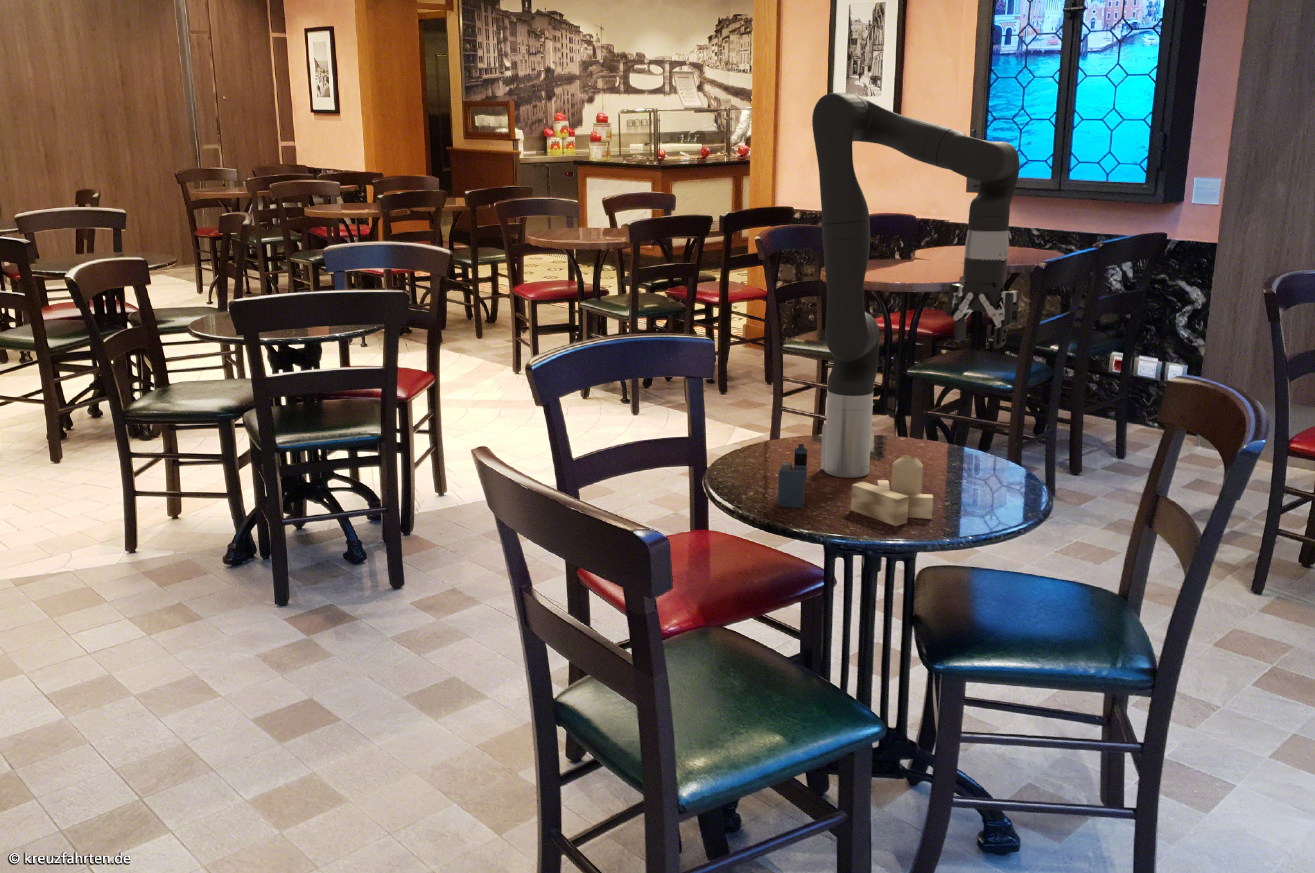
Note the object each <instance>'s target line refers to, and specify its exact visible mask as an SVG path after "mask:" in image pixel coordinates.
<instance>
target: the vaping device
mask: <svg viewBox="0 0 1315 873" xmlns="http://www.w3.org/2000/svg"><path fill="white" fill-rule="evenodd" d="M797 445H798V446H797V447H796V448H794V456H793V458H794V463H792V462H787V461H786V462H781V466H780V468H779V471H778V488H777V503H778V506H780V507H783V508H797V509H798V508H799V509H800V508H801V509H802V508H804V507H805V503H804V500H805V499H804V498H805V482H806V481H807V478H808V475H807V473H808V471H807V470H808V448H805V444H804V443H799V444H797Z"/></svg>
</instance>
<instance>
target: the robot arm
mask: <svg viewBox="0 0 1315 873" xmlns="http://www.w3.org/2000/svg"><path fill="white" fill-rule="evenodd" d="M811 118H812V121H811V124H812V125H811V127H812V132H813V140H814V145H815V146H814V147H815V154H816V158H817V159H816V160H817V165H818V176H819V191H820V194H819V195H820V206H821V207H820V208H821V231H822V232H821V233H822V234H821V235H822V246H823V262H824V272H825V273H824V274H825V283H826V284H825V285H826V313H825V314H826V315H825V328H824V329H825V330H824V331H825V334H824V335H825V336H824V338H825V344H826V347H827V348H828V351H829V352H830V353H831V355H832V356H833V363H832V367H831V371H830V373H829V375H828V377H827V392H826V393H827V396H826V417H825V418H826V419H825V420H826V421H825V422H826V423H824V424H823V425H822V427H821V428H822V430H821V449H820V450H821V454H820V469H821V470H823V472H825V473H826V474H827V475H830V476H833V477H838V478H845V479H846V478H848V479H849V478H850V479H851V478H861V477H864V476H867V475H869V473H870V460H871V458H870V457H871V447H872V446H871V444H872V442H871V441H872V424H873V403H874V386H875V381H876V378H877V374H878V364H879V354H880V353H879V352H880V340H881V338H880V337H881V336H880V327H879V324H878V322H877V320H876V319H875V318H874V317H873V316H872V315H871V314H869V313H868V312H867V311H866V309H865V300H864V285H865V279H866V274H867V269H868V263H869V258H870V251H871V249H870V248H871V227H870V226H871V224H870V223H871V221H870V213H869V212H870V211H869V207H868V204H867V201H866V198H865V194H864V192H863V189H862V188H861V186H860V184H859V181H858V178H857V175H856V172H855V167H854V159H853V157H854V156H853V142H862V143H870V144H878V145H882V146H885V147H888V148H890V149H893V150H896V151H897V152H899V153H902V154H903V155H905V156H907V157H909V158H911V159H913V160H916V161H919V162H921V163H924V164H928V165H930V166H934V167H938V168H940V169H944V170H949V171H952V172H954V173H956V174H958V175H960V176H963V177H964V178H967V179H970V180H973V181H977V182H979V186H978V191H977V195H976V196H975V197H974V198H973V199H972V200H971V202H970V203H969V204H970V205H969V209H968V210H969V211H968V212H969V213H968V223H967V225H968V226H967V229H968V230H967V234H966V239H965V244H964V246H965V247H964V260H963V274H962V280H963V281H964V284H962V283H954V284H953V283H952V284H949V287H948V294H947V301H946V309H945V314H946V316H947V317H951V318H952V319H953V321H954V331H953V337H954V338H955V339H954V340H955V341H958V342H962V341H965V340H966V338H967V326H968V320H967V318H968V317H969V316H970V314H971V313H972V312H977V311H979V312H981V313H987V315H988V316H989V318H991V319H992V321H993V323H994V325H995V326H996V327H994V330H993V331H994V332H993V344H992V346H993V348H995V349H999V348H1003V347H1004V345H1006V343H1007V334H1008V327H1010V326H1013V325H1017V324H1018V323H1019V307H1020V305H1019V304H1020V292H1019V291H1018V290H1011V291H1005V289H1004V286H1005V282H1006V280H1007V271H1008V270H1007V268H1008V255H1009V245H1010V243H1009V242H1010V241H1009V239H1010V238H1009V227H1010V216H1011V214H1010V213H1011V211H1010V210H1011V203H1012V201H1013V198H1014V194H1015V190H1016V186H1017V182H1018V177H1019V172H1020V157H1019V156H1020V155H1019V153H1018V150H1017V148H1015V146H1014V145H1013V144H1011V143H1009V142H1006V141H989V140H983V139H979V138H976V137H972V136H968V135H967V134H966V133H964V132H962V131H960V130H958V129H954V128H950V127H949V126H948V127H947V126H943V125H940V124H937V123H933V122H928V121H925V120H920V119H916V118H913V117H909V116H905V115H903V114H899V113H896V112H894V111H891V110H889V109H886V108H884V107H882V106H880V105H879V104H876V103H874V102H872V101H870V100H868V99H867V98H865V97H863V96H860V95H859V94H856V93H851V92H831V93H826V94H825V95H823V96H821V97H820V98H819V99H818V101H817V102H816V104H815V106H814V107H813V111H812V117H811ZM962 296H963V298H964V300H963V301H962ZM961 301H962V302H961ZM1002 302H1004V305H1003V303H1002Z"/></svg>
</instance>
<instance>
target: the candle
mask: <svg viewBox="0 0 1315 873" xmlns="http://www.w3.org/2000/svg"><path fill="white" fill-rule="evenodd" d="M891 470H892V472H891V486H890V487H891V488H890V490H891V491H894V492H897V493H910V494H922V487H923V486H922V485H923V474H924V473H923V472H924V465H923V463H922V462H921V461H920V460H919V458H918V457H917V456H915V457H912V456H911V455H909V454H904V455H902V456H900V457H899V458H897V459H896V460H895V461H894V462H893V463H892V469H891Z"/></svg>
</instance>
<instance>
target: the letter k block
mask: <svg viewBox="0 0 1315 873" xmlns="http://www.w3.org/2000/svg"><path fill="white" fill-rule="evenodd" d="M890 487H891V486H890V483H889V480H886V479H885V480H884V479H883V480H882V479H877V484H876V485H875V484H872V483H868V482H865V481H860V482H856V483H853V484H851V496H850V497H851V499H850V511H853V512H855V513H857V514H861V515H864V516H866V517H869V518H872V519H876V520H878V521H880V522H882V523H886V524H889V525H892V526H894V527H898V526H901V525H905V524H907V523H908V519H909V518H911V519H927V520H928V519H929V520H933V510H934V509H933V508H934V495H933V493H931V494H930V493H928V494H926V493H921V494H910V493H897V492H894V491H891V488H890Z"/></svg>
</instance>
